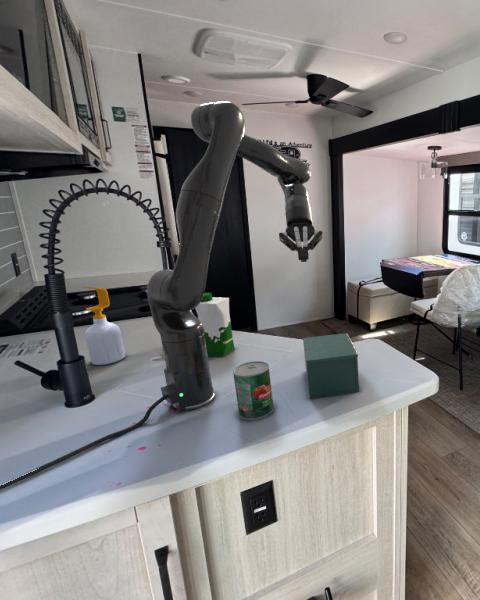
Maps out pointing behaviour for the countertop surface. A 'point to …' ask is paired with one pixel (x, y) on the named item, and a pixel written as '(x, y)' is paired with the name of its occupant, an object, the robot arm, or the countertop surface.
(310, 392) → the case
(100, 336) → the spray bottle
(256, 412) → the canned tomato
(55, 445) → the countertop surface
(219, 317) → the milk carton
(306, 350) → the case lid
